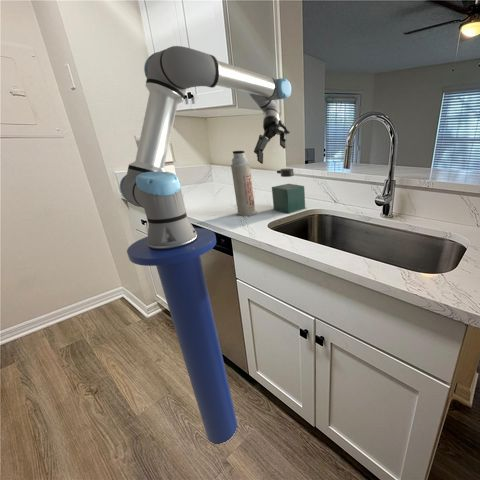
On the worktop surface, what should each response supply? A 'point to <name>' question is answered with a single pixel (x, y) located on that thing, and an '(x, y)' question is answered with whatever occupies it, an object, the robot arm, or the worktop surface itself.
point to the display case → (169, 161)
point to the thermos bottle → (242, 184)
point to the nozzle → (286, 172)
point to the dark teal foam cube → (288, 198)
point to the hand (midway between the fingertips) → (271, 154)
